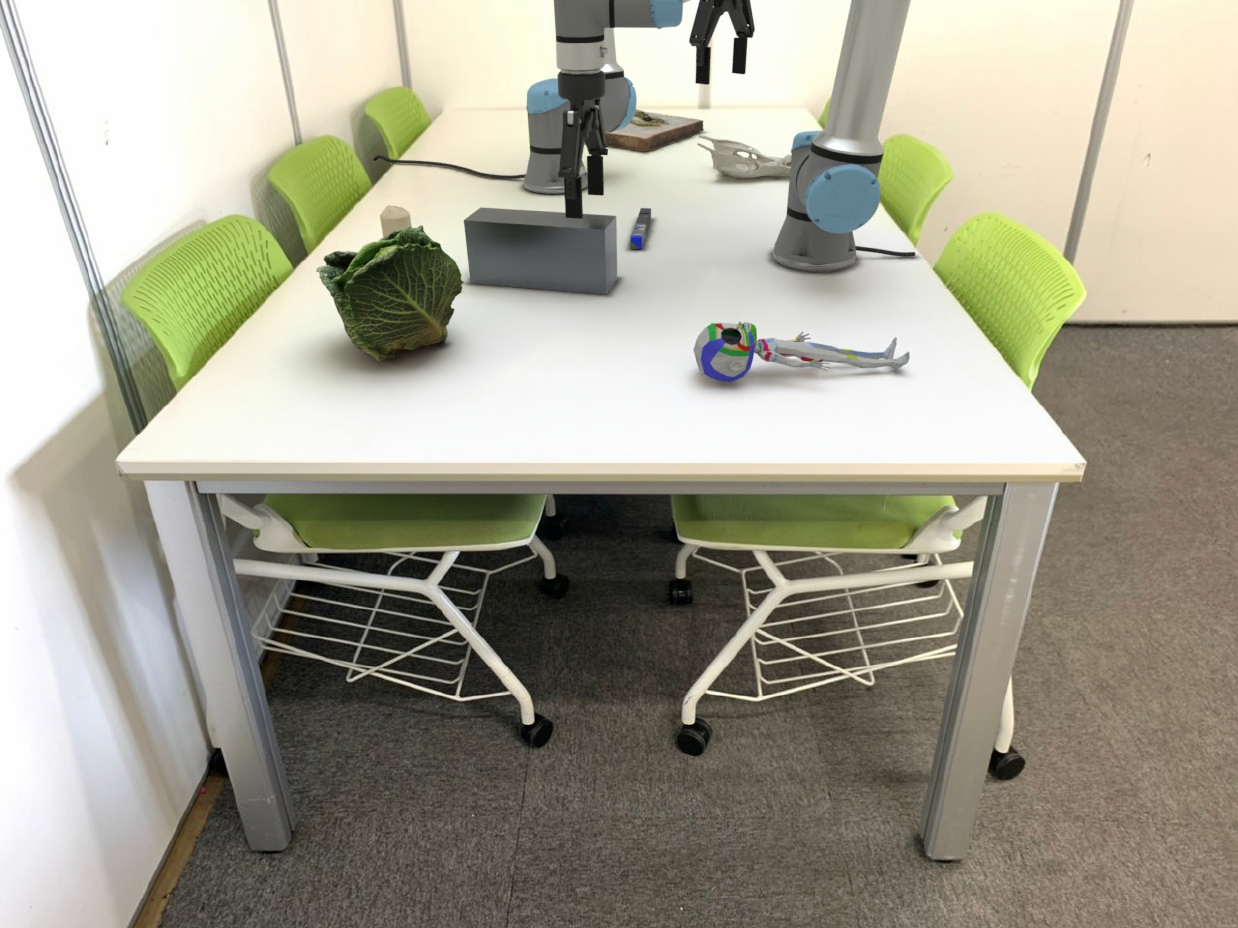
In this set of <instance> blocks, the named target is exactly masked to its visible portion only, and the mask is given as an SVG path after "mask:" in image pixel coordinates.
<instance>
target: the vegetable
mask: <svg viewBox="0 0 1238 928" xmlns="http://www.w3.org/2000/svg"><path fill="white" fill-rule="evenodd" d="M323 261H324V262H325V265H322V266H318V267H316V270H315V271H316V273H319V276H318V278H319V279H320V281H321V283H322V285H323V286H325V288H326V290H327V291H328V292H329V294H330V296H331V298H332V299H333V302H334V306H335V309H336V311H337V312H338V315H339V317H340V318H341V321H342V324H343V328H344V331H345V333H346V335H347V336H348V338H349V339H350V342H351V343H352V344H353V345H354V346H355V347H357V348H358V349H359V350H360V351H362V352H364V353H366V354H369V355H370V356H371V357H372V358H374V359H375V360H376V361H377V362H382V361H383V360H384V359H387V358H388V359H389V358H391V359H396V355H395V353H396V352H401V351H403V350H409V351H414V350H415V349H417V348H419V347H426V346H429V345H436V346H438V345H439V346H440V345H445V343H446V340H447V338H448V335H449V332H448V329H447V327H448V325H449V323H450V321H451V319H452V317H453V316H454V313H455V310H456V309H455V308H453V307H452V304H453V302H454V301H455V299H456V298H457V296H459V295H460V294H461V293H462V292H463V285H464V283H465V281H463V280H462V273H461V270H460V268H459V266H458V264H457V262H456V261H455V260H454V258H453V257H451V256H450V255H449V254H448V253H447V252H445V251H444V250H443V248H442V246H441V243H439V242H437V241H434V240H433V239H432V238H431V237H430V236H429V234H427V233H426V231H425V230H424V225H421V224H420V225H418V226H417V227H413V226H412V225H411V226H410V227H407V228H405V229H404V230H400V231H395V232H393V233H391V234H389V235H387V236H385V237H383V236H382V238H379V240H378V241H371V242H368V243H366V244H364V245H363V246H361V248H360V250H359V251H350V250H345V251H341V250H335V251H333V252H331V253H329V254H327V255H324V257H323Z"/></svg>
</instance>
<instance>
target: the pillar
mask: <svg viewBox="0 0 1238 928" xmlns="http://www.w3.org/2000/svg"><path fill="white" fill-rule="evenodd" d="M651 219H652V208H650V207H649V208H648V207H640V209H639V212H638V215H637V217H636V221H635V224H634V227H633V230H632V232H631V235H630V250H637V249H638V250H642V249H643V246H644V244H645V243H644V242H645V240H646V236H647V233H648V229H649V226H650V222H651Z"/></svg>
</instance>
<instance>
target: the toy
mask: <svg viewBox="0 0 1238 928" xmlns="http://www.w3.org/2000/svg"><path fill="white" fill-rule="evenodd" d="M757 332H758V331H757V327H756V325H754V324H753V323H752V322H747V321H743V323H742V322H740V321H738V323H731V322H718V323H716V322H711V323H710V324H708V325H707V326H705V327H704V328H703V329H702V331H701V332H700V333H699V334H698V335H697V337H696V340H695V343H694V347H693V349H692V350H693V354H694V358H695V362H696V365H697V367H698V371H699V372H700V374H702V375H704V376H706V377H707V378H709V379H712V380H715V381H718V382H724V383H731V382H735V381H737V380H739V379H742V378H743V377H745V376H746V374H747V373H748V372H749V371H750V370H751V368H752V364H753V361H754V356H755V354H756V355H757V356H758V357H759V358H760V359H761V360H762V361H764V362H765V363H777V364H779V365H784V366H787V367H789V368H797V369H798V368H799V369H800V368H802V369H803V368H813V369H820V370H823V371H827V369H830V370H831V369H832V367H831V366H827V365H830V363H834V364H835V363H836V364H845V365H849V366H853V367H856V368H860V369H875V368H876V369H877V368H878V369H879V368H884V367H890V368H892V369H894V370H897V371H898V370H899V369H900V368H902V367H904V366H906V365H907V364H908V363H909V361H910V358H911V357H910V356H911V352H910V351H907V352H905V353H904V354H903V355H901V356H899V357H898V358H894V357H895V352H896V347H897V344H898V343H897V342H898V338H897V337H896V336H895V337H894V338H893V339H892V340H891V342H890V344H889V345H888V347H886V349H885V350H884V351H878V352H877V351H875V352H869V351H860V350H854V349H846V348H839V347H836V346H834V345H828V344H824V343H817V342H810V341H807V340H811V337H807V336H809V335H810V333H806V334H804V331H801V332H800V333H799V334H797V336H796V337H795V338H793V339H787V340H784V339H779V338H776V337H775V338H774V337H768V338H762V337H761V338H758V333H757ZM803 334H804V335H803ZM790 357H796V358H798V359H794V358H790Z"/></svg>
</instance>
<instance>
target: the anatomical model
mask: <svg viewBox="0 0 1238 928" xmlns="http://www.w3.org/2000/svg"><path fill="white" fill-rule="evenodd" d="M698 138H699V139H704V140H707V141H709V142H711V143H712V145H713V146H712V147H713V149H712V148H710V147H708V146H706V145H705V144H702V143H700V142H697V143H696V144H697V146H698V147H700V148H702V149H704V150H706V151H709V152H710V154H711V155H710V156H711V159H712V169H713V170H717V171H718V173H719V174H721V175H726V176H727V175H728V176H729V177H731V178H734V179H754V178H758V177H765V176H780V177H781V176H782V177H790V168H791V156H792V154H787V155H786V156H784V157H779V156H778V157H777V156H768V155H765V154H762V153H761V151H760V150H758V149H757V148H756V147H754V146H751V145H748V144H745V143H743V142H740V141H735V140H731V139H722V138H714V137H711V136H706V135H702V134H699V135H698ZM739 153H745V154H748V156H747V157H745V156H742V155H740V154H739ZM753 155H754V156H755V157H756V158H754V157H753Z"/></svg>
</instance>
